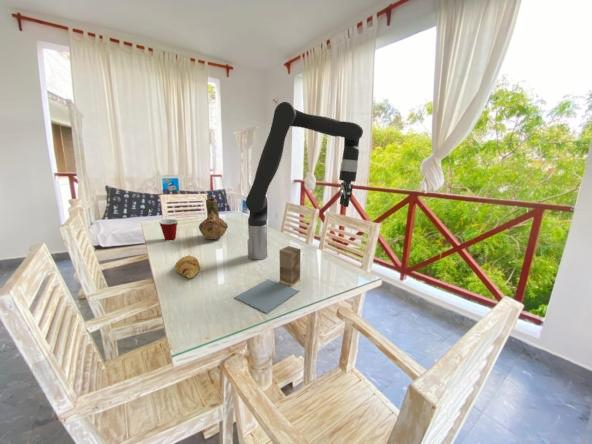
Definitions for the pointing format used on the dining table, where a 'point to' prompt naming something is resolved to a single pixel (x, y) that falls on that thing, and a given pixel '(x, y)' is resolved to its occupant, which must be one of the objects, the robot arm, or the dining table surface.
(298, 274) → the walnut block
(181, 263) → the croissant
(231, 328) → the dining table surface
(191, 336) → the dining table surface
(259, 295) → the slate mat
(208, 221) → the ceramic vessel
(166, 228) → the plastic cup
